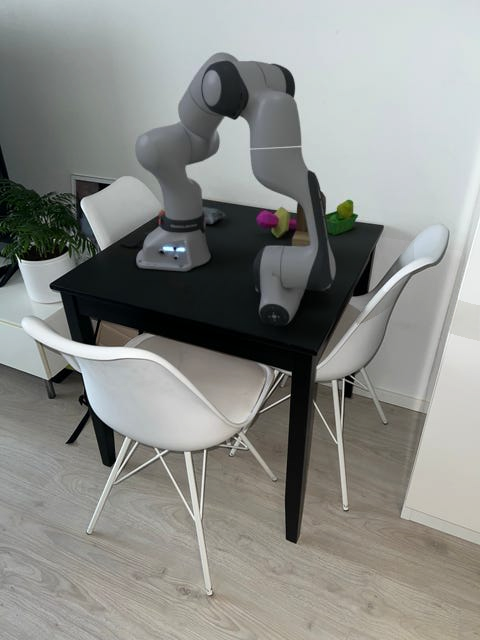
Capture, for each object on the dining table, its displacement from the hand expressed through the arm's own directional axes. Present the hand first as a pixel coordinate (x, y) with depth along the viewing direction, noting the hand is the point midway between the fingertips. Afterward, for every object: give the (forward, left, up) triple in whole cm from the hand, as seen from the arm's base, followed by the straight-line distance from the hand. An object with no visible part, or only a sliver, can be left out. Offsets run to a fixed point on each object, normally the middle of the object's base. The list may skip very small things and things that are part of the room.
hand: (298, 261), depth 139 cm
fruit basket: (+18, +36, -6) cm, 40 cm away
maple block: (+2, +6, -6) cm, 8 cm away
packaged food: (-28, +45, -6) cm, 53 cm away
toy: (-2, +33, -6) cm, 33 cm away
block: (+5, +16, -6) cm, 18 cm away
